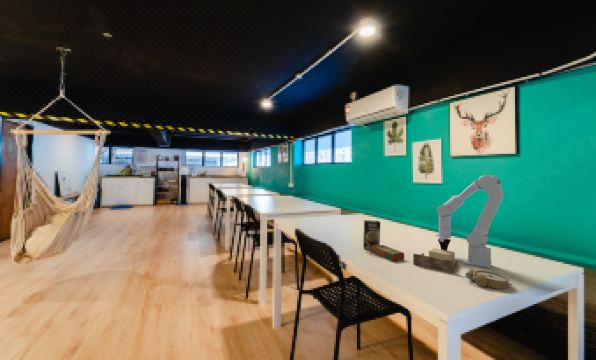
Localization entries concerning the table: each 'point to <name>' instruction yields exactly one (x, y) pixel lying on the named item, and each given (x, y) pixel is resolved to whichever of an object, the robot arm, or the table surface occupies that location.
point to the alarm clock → (488, 279)
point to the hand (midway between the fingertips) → (444, 252)
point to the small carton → (442, 254)
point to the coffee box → (371, 234)
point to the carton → (387, 253)
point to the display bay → (434, 262)
